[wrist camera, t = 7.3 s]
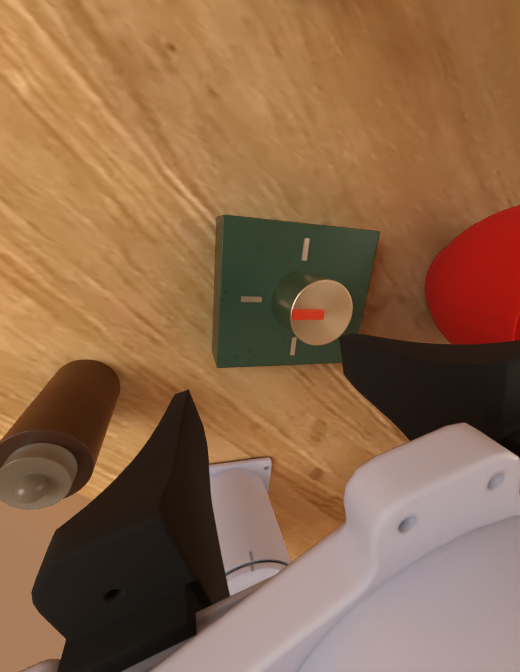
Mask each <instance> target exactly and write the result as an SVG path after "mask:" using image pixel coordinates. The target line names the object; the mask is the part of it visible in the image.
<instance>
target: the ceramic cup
mask: <svg viewBox="0 0 520 672" xmlns="http://www.w3.org/2000/svg"><path fill="white" fill-rule="evenodd" d="M425 295H426V298H427V301H428V306H429V309H430V312H431V315H432V317H433V320H434V322H435V323H436V325H437V327H438V328H439V329H440V331H441V332H442V334H443V335H444V336H445V337H446V339H447V340H448V341H449V342H450V343H452V344H485V343H498V342H508V341H516V340H520V205H519V206H515V207H512V208H509V209H506V210H503V211H500V212H498V213H496V214H493V215H491V216H489V217H487V218H485V219H483V220H482V221H480V222H478V223H476V224H474V225H472V226H471V227H469V228H468V229H467V230H465V231H464V232H463V233H461V234H460V235H459V236H457V237H456V238H455V239H454V240H453V241H452V242H451V243H450V244H449V245H448V246H447V247H446V248H444V249H443V250H442V251H441V252H440V253H439V254H438V255H437V256H436V258H435V259H434V261H433V262H432V264H431V266H430V268H429V270H428V273H427V276H426V281H425Z"/></svg>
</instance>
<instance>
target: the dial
mask: <svg viewBox="0 0 520 672" xmlns="http://www.w3.org/2000/svg"><path fill="white" fill-rule="evenodd" d="M272 309H273V313H274V315H275V317H276V318H277V320H278V321H279V322H280V323H281V324H283V325H284V326H285V327H286V328H287V329H288V330H289V331H290V332H292V333H293V334H294V335H295V336H296V337H297V338H298V339H300V340H301V341H302V342H304V343H306V344H309V345H324V344H327V343H330V342H332V341H334V340H335V339H337V338H338V337H339V336H340V335H341V334H342V333H343V332H344V331H345V329H346V328H347V326H348V324H349V322H350V320H351V316H352V310H353V305H352V299H351V296H350V294H349V292H348V290H347V289H346V288H345V287H344V286H343V285H342V284H340V283H339V282H337V281H334V280H331V279H328V278H325V277H322V276H319V275H316V274H312V273H309V272H305V271H298V272H294V273H291V274H289V275H287V276H286V277H284V278H283V279H282V280H281V281H280V282H279V283H278V285H277V286H276V288H275V290H274V292H273V296H272Z"/></svg>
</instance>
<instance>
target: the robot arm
mask: <svg viewBox="0 0 520 672" xmlns="http://www.w3.org/2000/svg"><path fill="white" fill-rule="evenodd" d="M339 342H340V349H341V357H342V364H343V372H344V375H345V376H346V378H347V379H348V380H349V381H350V383H351V384H352V385H353V386H354V387H355V388H356V389H357V390H358V391H359V392H360V393H361V394H362V395H363V396H364V397H365V398H366V399H367V400H369V401H370V402H371V403H372V404H373V405H374V406H375V407H376V408H378V409H379V410H380V411H381V412H382V413H383V414H384V415H385V416H387V417H388V418H389V419H390V420H391V421H392V422H393V423H394V424H395V425H396V426H397V427H398V428H399V429H400V430H401V431H402V432H403V433H404V435H405V436H406V437H407V438H408V439H409V440H410V441H409V442H407V443H405V444H403V445H400V446H398V447H396V448H393V449H391V450H389V451H386V452H384V453H382V454H379V455H377V456H375V457H373V458H371V459H370V460H368V461H367V462H365V463H364V464H362V465H361V466H359V467H358V468H357V469H356V470H355V472H354V473H353V475H352V476H351V477H350V479H349V480H348V481H347V484H346V488H345V494H344V500H343V501H344V507H345V513H346V521H345V522H344V523H342V524H341V525H340V526H338V527H337V528H336V529H335V530H333V531H332V532H331V533H329V534H328V535H327V536H325V537H324V538H323V539H321V540H320V541H319V542H317V543H316V544H315V545H314V546H312V547H311V548H310V549H308V550H307V551H306V552H304V553H303V554H302V555H300V556H299V557H298V558H296V559H295V560H294V561H293V562H291V559H290V556H289V553H288V551H287V548H286V545H285V542H284V539H283V536H282V533H281V531H280V528H279V525H278V522H277V519H276V516H275V514H274V511H273V508H272V505H271V502H270V499H269V496H268V491H269V482H270V474H271V466H272V461H271V459H270V458H269V457H265V458H258V459H250V460H243V461H235V462H228V463H221V464H213V465H209V459H208V447H207V442H206V437H205V432H204V427H203V424H202V422H201V419H200V417H199V414H198V412H197V409H196V407H195V404H194V402H193V399H192V397H191V394H190V391H189V390H186V391H183V392H180V393H177V394H175V395H174V397H173V398H172V400H171V402H170V404H169V406H168V408H167V410H166V412H165V414H164V415H163V417H162V419H161V421H160V423H159V424H158V426H157V428H156V429H155V431H154V432H153V434H152V435H151V437H150V439H149V440H148V441H147V443H146V444H145V446H144V447H143V448H142V450H141V451H140V452H139V453H138V455H137V456H136V457H135V458H134V460H133V461H132V462H131V463H130V464H129V465H128V466H127V467H126V468H125V469H124V471H123V472H122V473H121V474H120V475H119V476H118V477H117V478H116V479H115V480H114V481H113V482H112V483H111V484H110V485H109V486H108V487H107V488H106V489H105V490H104V491H103V492H102V493H101V494H99V495H98V496H97V497H96V498H95V499H94V500H93V501H92V502H90V503H89V504H88V505H87V506H86V507H85V508H83V510H81V511H80V512H78V513H77V514H76V515H75V516H73V517H72V518H71V519H70V520H68V521H67V522H66V523H65V524H63V525H62V526H61V527H60V528H58V529H57V530H56V531H55V533H54V535H53V537H52V540H51V542H50V544H49V547H48V549H47V552H46V554H45V557H44V559H43V562H42V565H41V567H40V570H39V572H38V575H37V577H36V580H35V583H34V586H33V589H32V600H33V604H34V605H35V607H36V609H37V610H38V612H39V613H40V614H41V615H42V616H43V617H44V618H45V619H46V620H47V621H48V622H49V623H50V624H51V625H52V626H53V627H54V628H55V629H56V630H58V632H60V634H61V635H63V636H64V637H65V638H66V642H65V646H64V650H63V653H62V657H61V660H60V659H48V660H44V661H41V662H39V663H37V664H35V665H32V666H30V667H28V668H26V669H24V670H22V671H19V672H520V340H516V341H508V342H498V343H485V344H428V343H416V342H408V341H400V340H394V339H387V338H381V337H376V336H370V335H363V334H356V333H350V334H347V335H344V336H341V337H339ZM266 466H267V467H266Z"/></svg>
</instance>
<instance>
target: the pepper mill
mask: <svg viewBox="0 0 520 672" xmlns="http://www.w3.org/2000/svg"><path fill="white" fill-rule="evenodd" d="M119 393H120V381H119V379H118V377H117V375H116V373H115V372H114V371H113V370H112V369H111V368H110V367H108V366H107V365H105V364H103V363H101V362H98V361H94V360H77V361H73V362H70V363H68V364H66V365H64V366H63V367H62V368H60V369H59V370H58V372H57V373H56V374H55V375H54V376H53V378H52V379H51V380H50V381H49V382H48V384H47V385H46V386H45V387H44V388H43V390H42V391H41V392H40V393H39V395H38V396H37V397H36V398H35V399H34V401H33V402H32V403H31V404H30V405H29V407H28V408H27V409H26V410H25V411H24V413H23V414H22V415H21V416H20V418H19V419H18V420H17V421H16V422H15V424H14V425H13V426H12V427H11V428H10V430H9V431H8V432H7V433H6V435H5V436H4V437H3V438H2V439H1V441H0V500H1V501H2V502H4V503H6V504H7V505H9V506H12V507H15V508H20V509H28V510H31V509H32V510H33V509H41V508H45V507H49V506H51V505H54V504H56V503H57V502H59V501H60V500H62V499H64V498H66V497H69V496H71V495H73V494H74V493H76V492H77V491H79V490H80V489H81V488H82V487H83V486H84V485H85V484H86V483H87V482H88V481H89V479H90V477H91V476H92V473H93V470H94V467H95V464H96V461H97V458H98V455H99V452H100V449H101V446H102V443H103V440H104V437H105V434H106V431H107V428H108V426H109V423H110V420H111V417H112V414H113V411H114V408H115V405H116V402H117V399H118V396H119Z"/></svg>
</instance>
